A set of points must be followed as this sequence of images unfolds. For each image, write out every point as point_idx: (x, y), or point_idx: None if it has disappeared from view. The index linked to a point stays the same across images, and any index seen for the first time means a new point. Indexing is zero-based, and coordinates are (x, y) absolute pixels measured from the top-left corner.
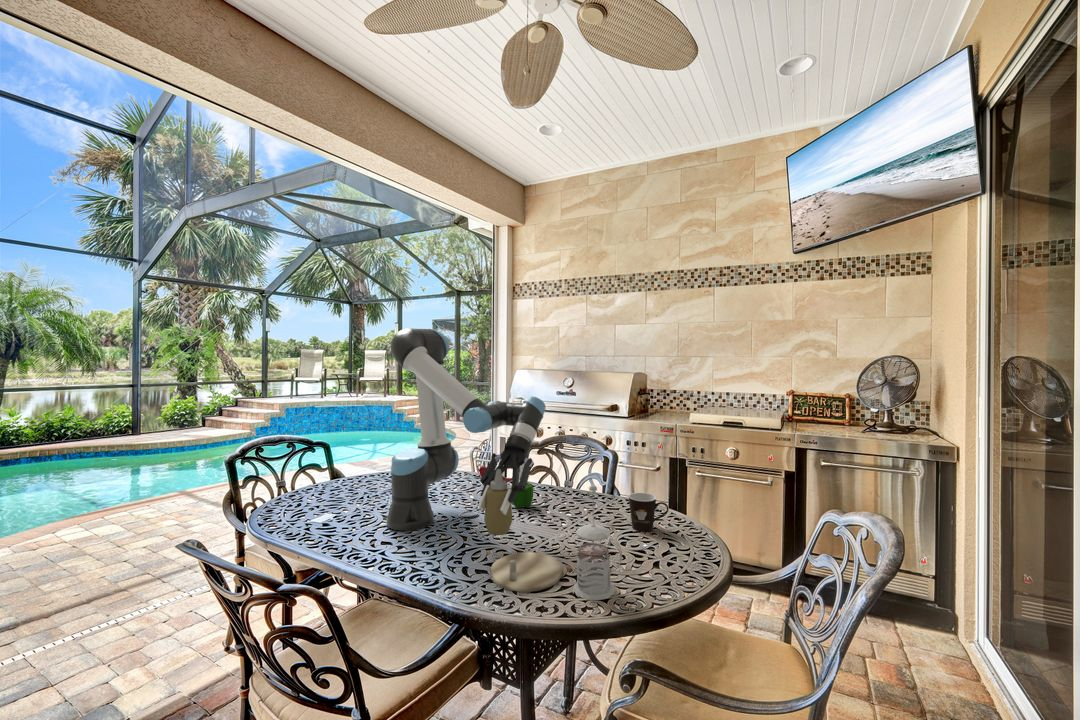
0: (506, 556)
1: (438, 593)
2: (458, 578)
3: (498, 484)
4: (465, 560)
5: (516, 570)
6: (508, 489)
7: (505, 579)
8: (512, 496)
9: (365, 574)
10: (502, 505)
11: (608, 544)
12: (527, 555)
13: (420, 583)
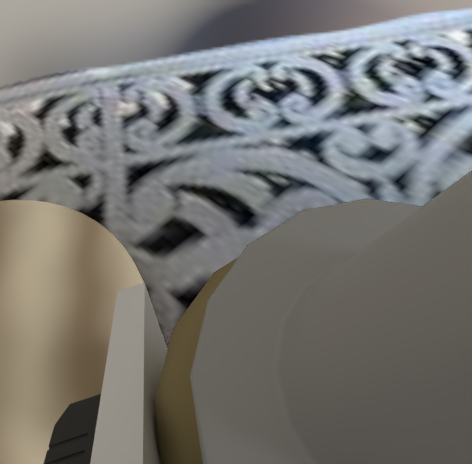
0: None
1: (169, 79)
2: (195, 157)
3: (257, 257)
4: None
5: (6, 294)
6: (137, 461)
7: (3, 216)
8: (56, 455)
9: (427, 16)
10: (134, 304)
11: None
12: None
13: (261, 76)
